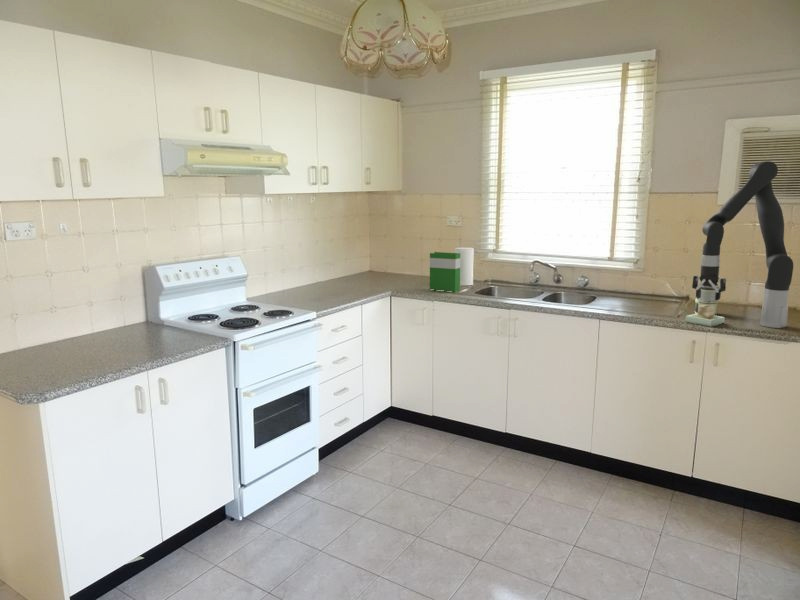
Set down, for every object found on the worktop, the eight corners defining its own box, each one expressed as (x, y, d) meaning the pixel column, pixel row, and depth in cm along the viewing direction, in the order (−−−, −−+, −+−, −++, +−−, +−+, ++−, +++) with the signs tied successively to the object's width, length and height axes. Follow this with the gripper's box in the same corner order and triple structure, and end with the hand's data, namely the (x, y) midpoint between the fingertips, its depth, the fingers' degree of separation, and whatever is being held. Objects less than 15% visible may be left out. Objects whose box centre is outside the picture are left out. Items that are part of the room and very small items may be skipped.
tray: (724, 323, 262) (724, 317, 262) (710, 326, 256) (711, 320, 255) (698, 318, 272) (699, 312, 272) (685, 321, 266) (685, 315, 265)
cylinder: (472, 286, 368) (473, 249, 363) (453, 286, 370) (454, 248, 365) (473, 283, 380) (474, 247, 375) (455, 283, 382) (455, 247, 377)
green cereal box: (429, 290, 355) (429, 253, 350) (434, 288, 361) (434, 252, 356) (455, 292, 346) (455, 254, 342) (459, 291, 353) (460, 253, 348)
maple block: (713, 321, 263) (714, 306, 262) (707, 322, 260) (709, 308, 259) (702, 319, 267) (704, 305, 266) (697, 320, 264) (698, 306, 263)
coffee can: (689, 312, 288) (691, 285, 285) (704, 310, 291) (707, 284, 288) (705, 316, 278) (708, 288, 275) (721, 314, 281) (724, 287, 278)
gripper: (730, 265, 255) (727, 300, 258) (699, 262, 267) (696, 296, 269) (721, 266, 251) (719, 302, 254) (690, 264, 262) (688, 298, 265)
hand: (707, 299), depth 262 cm, fingers open, 8 cm apart
